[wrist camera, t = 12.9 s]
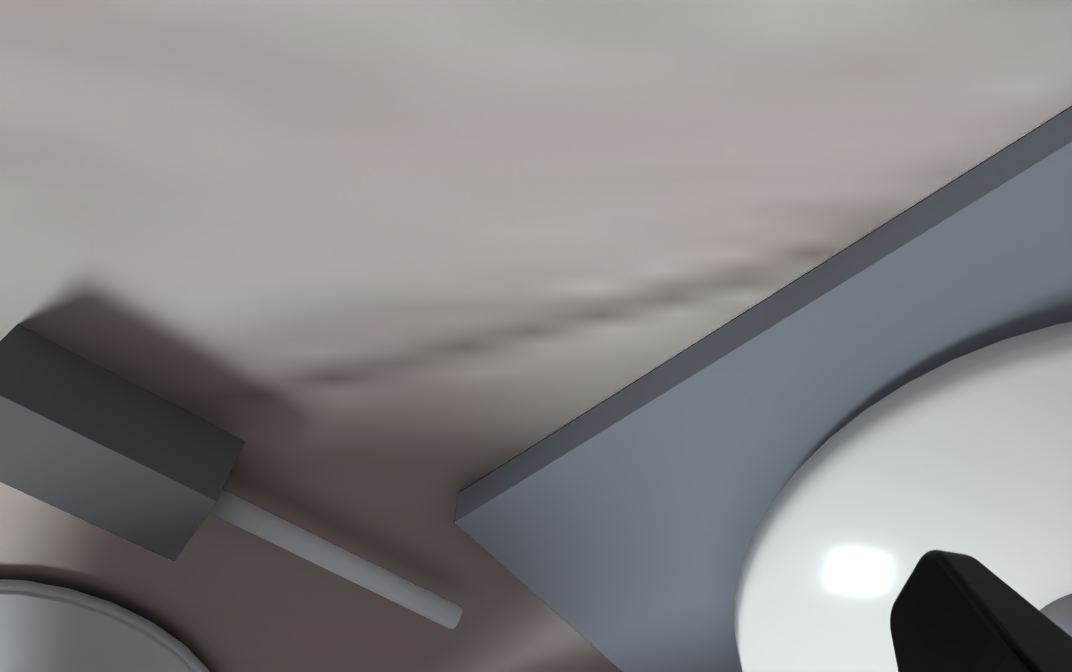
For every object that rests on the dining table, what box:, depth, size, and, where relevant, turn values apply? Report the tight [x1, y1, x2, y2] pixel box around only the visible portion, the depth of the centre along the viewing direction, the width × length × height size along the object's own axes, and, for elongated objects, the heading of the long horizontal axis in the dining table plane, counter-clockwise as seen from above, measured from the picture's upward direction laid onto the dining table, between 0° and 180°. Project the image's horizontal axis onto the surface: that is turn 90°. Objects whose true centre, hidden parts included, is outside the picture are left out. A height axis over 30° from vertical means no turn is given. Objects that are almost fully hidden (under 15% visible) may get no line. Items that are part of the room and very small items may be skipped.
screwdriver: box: [0, 324, 462, 630], centre depth 24 cm, size 14×3×3 cm, turn 54°
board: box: [454, 107, 1072, 672], centre depth 26 cm, size 24×24×1 cm
